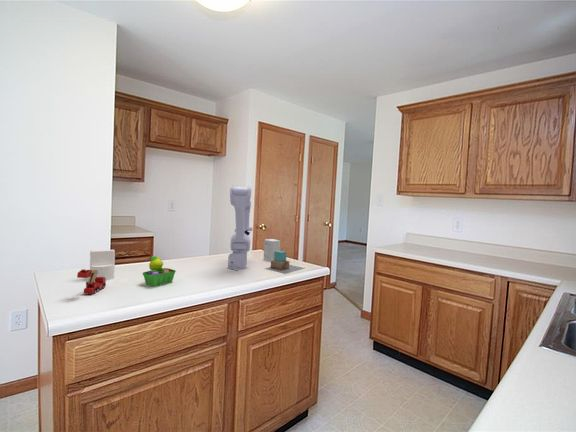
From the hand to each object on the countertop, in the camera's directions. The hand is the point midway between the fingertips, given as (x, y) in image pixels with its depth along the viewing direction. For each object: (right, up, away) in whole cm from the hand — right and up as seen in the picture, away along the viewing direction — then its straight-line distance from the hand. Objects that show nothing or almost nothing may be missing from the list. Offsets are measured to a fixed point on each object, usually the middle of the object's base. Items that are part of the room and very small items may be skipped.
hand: (243, 244), depth 175 cm
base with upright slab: (-54, -11, -44) cm, 71 cm away
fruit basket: (-29, -12, -47) cm, 56 cm away
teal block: (+21, -8, -14) cm, 27 cm away
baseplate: (+24, -13, -13) cm, 30 cm away
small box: (+16, -11, +6) cm, 20 cm away
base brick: (+21, -12, -13) cm, 28 cm away
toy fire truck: (-47, -12, -62) cm, 79 cm away
